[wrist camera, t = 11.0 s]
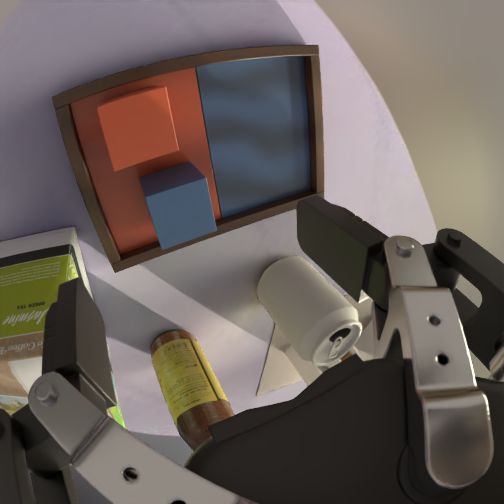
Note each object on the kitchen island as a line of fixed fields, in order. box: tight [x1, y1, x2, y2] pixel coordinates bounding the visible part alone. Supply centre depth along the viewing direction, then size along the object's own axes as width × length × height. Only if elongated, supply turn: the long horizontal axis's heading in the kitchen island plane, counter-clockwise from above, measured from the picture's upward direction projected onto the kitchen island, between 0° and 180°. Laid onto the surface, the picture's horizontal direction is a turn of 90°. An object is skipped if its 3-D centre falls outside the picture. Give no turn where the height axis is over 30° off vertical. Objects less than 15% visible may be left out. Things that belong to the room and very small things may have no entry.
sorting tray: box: [52, 45, 324, 273], centre depth 24 cm, size 16×22×2 cm
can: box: [256, 256, 362, 367], centre depth 33 cm, size 8×8×12 cm
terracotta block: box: [97, 86, 179, 171], centre depth 18 cm, size 4×4×4 cm
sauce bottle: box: [151, 330, 235, 451], centre depth 28 cm, size 7×6×20 cm
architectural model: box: [257, 295, 374, 396], centre depth 43 cm, size 28×21×23 cm
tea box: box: [0, 227, 125, 465], centre depth 19 cm, size 15×10×15 cm, turn 175°
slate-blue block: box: [139, 162, 217, 250], centre depth 23 cm, size 4×4×4 cm
